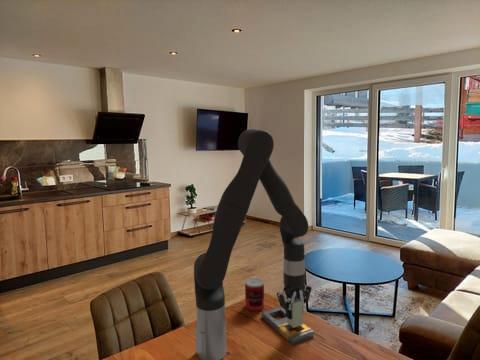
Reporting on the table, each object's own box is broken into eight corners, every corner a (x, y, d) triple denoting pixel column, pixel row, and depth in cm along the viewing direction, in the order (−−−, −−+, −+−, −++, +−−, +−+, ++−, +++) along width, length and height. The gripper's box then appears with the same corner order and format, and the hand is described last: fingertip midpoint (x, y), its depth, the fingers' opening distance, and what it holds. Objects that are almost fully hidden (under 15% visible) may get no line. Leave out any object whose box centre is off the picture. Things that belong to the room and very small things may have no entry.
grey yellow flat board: (292, 344, 115) (292, 338, 115) (261, 317, 133) (261, 311, 133) (313, 336, 119) (313, 330, 119) (281, 311, 137) (280, 305, 137)
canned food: (255, 300, 146) (254, 276, 145) (268, 307, 140) (268, 282, 138) (241, 306, 141) (240, 281, 140) (254, 314, 135) (253, 287, 134)
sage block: (293, 327, 118) (293, 303, 117) (286, 322, 122) (286, 298, 121) (302, 324, 120) (302, 300, 119) (295, 319, 124) (295, 295, 123)
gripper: (283, 278, 112) (284, 327, 114) (317, 269, 118) (317, 316, 121) (271, 271, 119) (271, 317, 121) (303, 262, 125) (304, 306, 127)
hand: (294, 316), depth 121 cm, fingers closed on sage block, 4 cm apart
